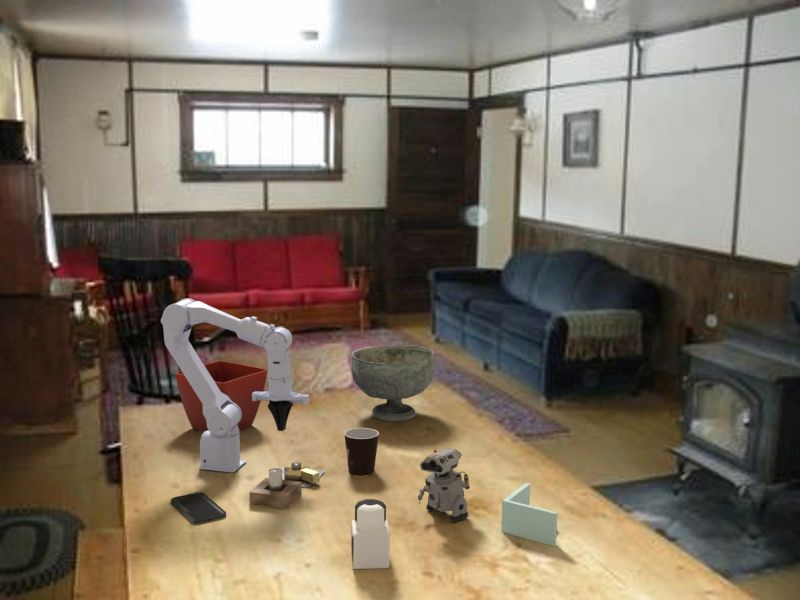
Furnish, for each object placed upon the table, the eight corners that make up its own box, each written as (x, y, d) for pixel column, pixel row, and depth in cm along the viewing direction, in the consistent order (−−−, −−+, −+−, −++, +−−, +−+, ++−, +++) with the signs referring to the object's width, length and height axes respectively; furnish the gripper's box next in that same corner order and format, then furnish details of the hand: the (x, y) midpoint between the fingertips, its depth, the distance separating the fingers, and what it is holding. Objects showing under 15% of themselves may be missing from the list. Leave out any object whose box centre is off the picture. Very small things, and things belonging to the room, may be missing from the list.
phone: (201, 491, 199) (227, 513, 187) (202, 496, 200) (228, 518, 187) (168, 498, 195) (193, 521, 183) (169, 503, 195) (193, 526, 183)
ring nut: (307, 485, 204) (307, 474, 203) (279, 475, 210) (278, 464, 210) (325, 478, 208) (325, 467, 208) (297, 468, 215) (297, 457, 214)
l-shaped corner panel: (554, 548, 176) (555, 513, 174) (501, 534, 182) (502, 500, 181) (575, 527, 186) (577, 494, 184) (524, 514, 192) (526, 482, 191)
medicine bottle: (351, 553, 171) (351, 496, 169) (387, 552, 172) (387, 495, 170) (352, 570, 164) (352, 510, 162) (389, 568, 165) (390, 509, 163)
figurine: (407, 517, 188) (408, 452, 186) (444, 504, 196) (445, 441, 193) (436, 531, 181) (437, 463, 179) (473, 516, 189) (475, 451, 187)
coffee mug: (374, 479, 210) (374, 440, 209) (340, 476, 212) (340, 437, 210) (384, 462, 222) (384, 425, 220) (352, 460, 223) (352, 423, 222)
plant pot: (269, 424, 252) (269, 368, 249) (223, 442, 236) (222, 382, 233) (222, 413, 262) (220, 359, 259) (174, 429, 246) (173, 372, 243)
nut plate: (266, 483, 207) (266, 481, 207) (284, 467, 217) (284, 466, 217) (309, 488, 204) (309, 486, 204) (325, 471, 215) (325, 470, 215)
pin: (267, 501, 196) (266, 472, 195) (272, 496, 199) (271, 467, 198) (279, 502, 195) (279, 473, 194) (284, 497, 198) (284, 468, 197)
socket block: (249, 504, 194) (249, 492, 194) (265, 489, 203) (265, 477, 202) (286, 509, 192) (286, 496, 191) (301, 494, 200) (301, 481, 200)
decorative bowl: (436, 427, 249) (436, 360, 246) (348, 428, 249) (347, 360, 247) (434, 405, 275) (434, 344, 273) (354, 405, 276) (353, 344, 273)
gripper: (245, 379, 210) (248, 432, 212) (301, 382, 206) (303, 436, 209) (257, 372, 217) (259, 424, 219) (311, 375, 213) (313, 428, 215)
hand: (281, 429), depth 214 cm, fingers closed
